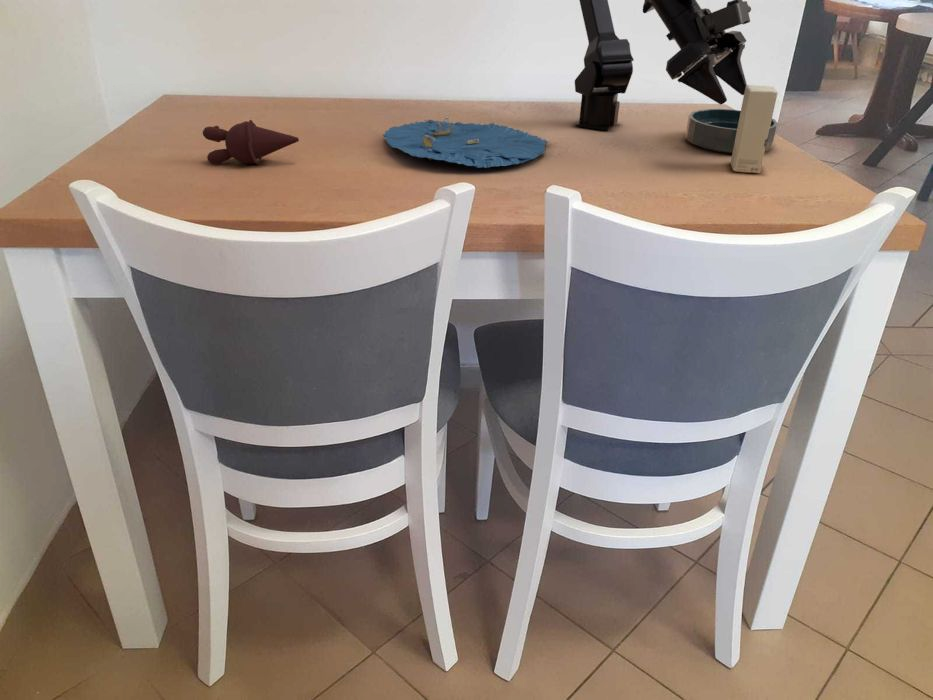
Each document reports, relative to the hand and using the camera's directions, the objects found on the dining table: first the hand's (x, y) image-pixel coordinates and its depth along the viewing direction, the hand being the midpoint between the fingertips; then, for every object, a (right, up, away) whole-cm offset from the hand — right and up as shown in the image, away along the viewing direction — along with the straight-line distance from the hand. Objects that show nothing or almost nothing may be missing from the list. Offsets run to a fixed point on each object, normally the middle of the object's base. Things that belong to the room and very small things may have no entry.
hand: (735, 98), depth 119 cm
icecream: (-78, -11, +1) cm, 78 cm away
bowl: (+5, -3, +16) cm, 17 cm away
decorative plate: (-44, -5, +11) cm, 46 cm away
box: (+3, -11, +4) cm, 12 cm away
